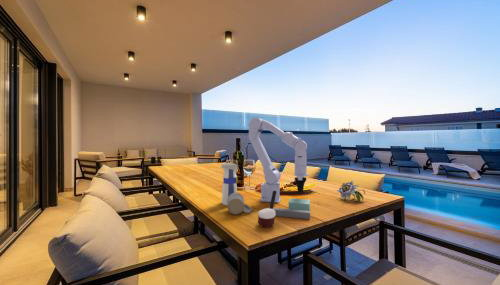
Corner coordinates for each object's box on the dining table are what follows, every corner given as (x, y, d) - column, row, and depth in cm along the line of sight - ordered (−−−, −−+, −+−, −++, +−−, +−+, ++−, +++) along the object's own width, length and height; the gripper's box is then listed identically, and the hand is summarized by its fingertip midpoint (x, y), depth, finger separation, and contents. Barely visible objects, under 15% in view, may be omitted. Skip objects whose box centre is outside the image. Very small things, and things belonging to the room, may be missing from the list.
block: (288, 211, 100) (288, 202, 99) (290, 206, 106) (290, 198, 106) (309, 213, 97) (309, 204, 97) (309, 208, 104) (309, 199, 104)
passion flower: (344, 209, 118) (331, 189, 123) (356, 203, 123) (344, 184, 128) (359, 203, 109) (344, 181, 114) (372, 196, 114) (358, 175, 119)
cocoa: (259, 231, 78) (259, 198, 77) (252, 224, 84) (252, 193, 83) (283, 226, 82) (282, 194, 81) (274, 219, 88) (274, 189, 87)
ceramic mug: (227, 215, 92) (227, 197, 92) (226, 209, 100) (227, 192, 100) (252, 215, 93) (253, 197, 93) (250, 209, 101) (250, 192, 101)
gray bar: (272, 215, 93) (272, 209, 93) (273, 213, 95) (273, 207, 95) (309, 219, 89) (310, 213, 89) (309, 217, 92) (309, 211, 91)
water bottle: (235, 199, 116) (235, 151, 115) (239, 204, 108) (240, 153, 107) (219, 201, 113) (220, 152, 113) (223, 205, 105) (223, 153, 105)
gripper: (309, 167, 102) (308, 196, 102) (308, 163, 116) (308, 189, 116) (293, 166, 104) (293, 195, 104) (295, 163, 118) (294, 188, 118)
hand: (300, 192), depth 110 cm, fingers closed
